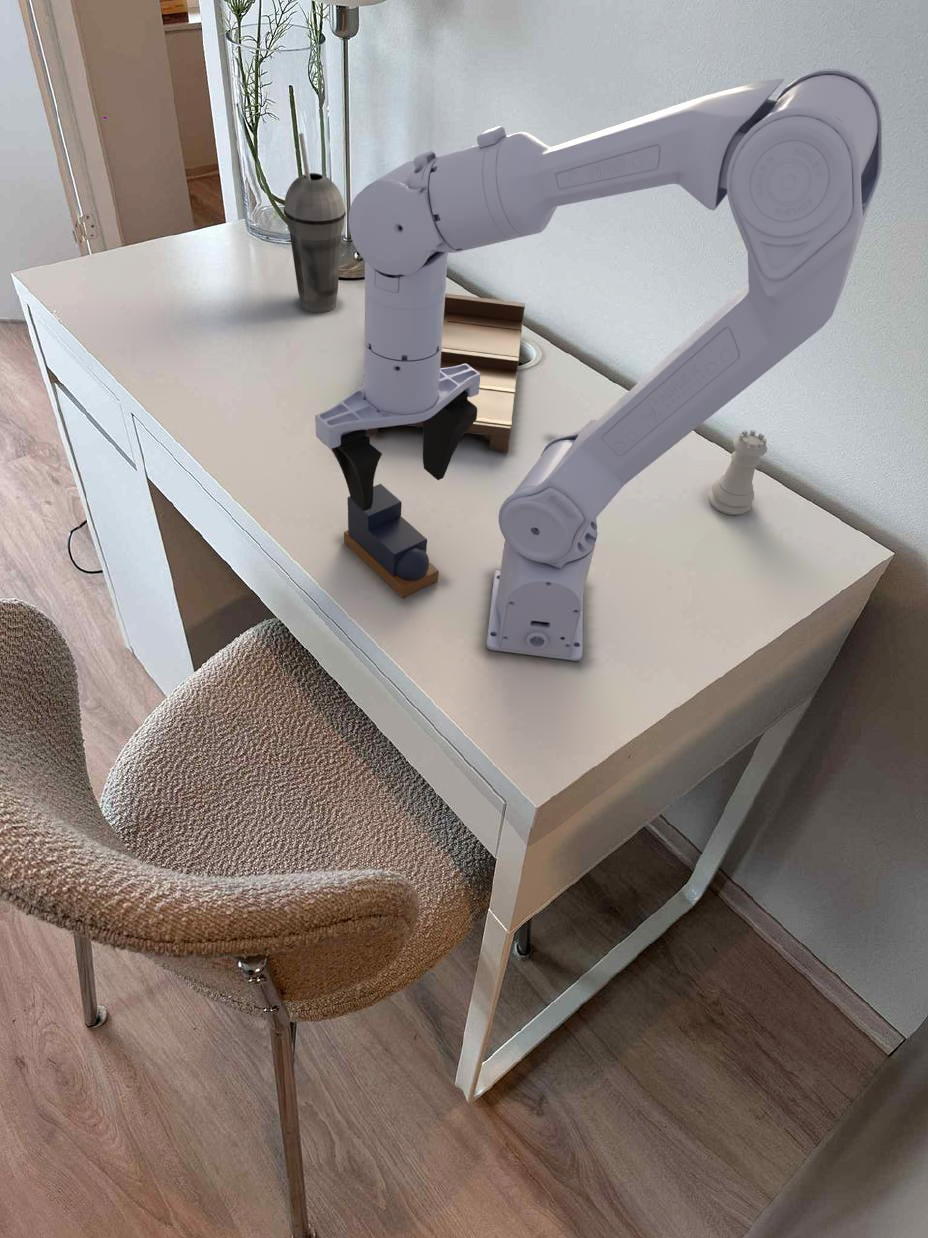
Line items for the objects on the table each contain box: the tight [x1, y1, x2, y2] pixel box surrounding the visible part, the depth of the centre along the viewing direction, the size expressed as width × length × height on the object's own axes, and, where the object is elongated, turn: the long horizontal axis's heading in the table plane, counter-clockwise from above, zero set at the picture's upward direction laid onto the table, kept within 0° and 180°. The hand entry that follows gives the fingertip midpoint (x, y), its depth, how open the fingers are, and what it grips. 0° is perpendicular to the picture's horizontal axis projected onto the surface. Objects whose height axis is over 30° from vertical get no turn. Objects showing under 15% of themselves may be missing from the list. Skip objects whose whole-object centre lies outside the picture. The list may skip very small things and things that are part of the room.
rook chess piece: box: [708, 429, 768, 516], centre depth 88 cm, size 4×4×8 cm
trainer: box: [343, 483, 440, 599], centre depth 78 cm, size 9×4×5 cm, turn 39°
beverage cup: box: [283, 132, 347, 314], centre depth 105 cm, size 7×7×20 cm
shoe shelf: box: [366, 292, 526, 453], centre depth 100 cm, size 24×16×5 cm, turn 174°
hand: (398, 488), depth 75 cm, fingers open, 7 cm apart
